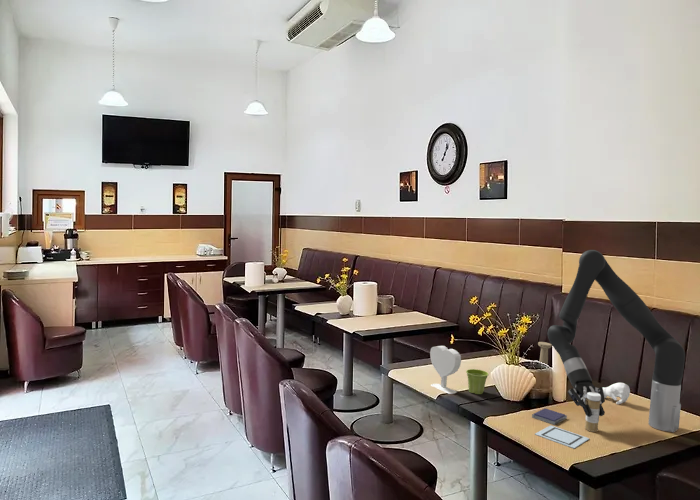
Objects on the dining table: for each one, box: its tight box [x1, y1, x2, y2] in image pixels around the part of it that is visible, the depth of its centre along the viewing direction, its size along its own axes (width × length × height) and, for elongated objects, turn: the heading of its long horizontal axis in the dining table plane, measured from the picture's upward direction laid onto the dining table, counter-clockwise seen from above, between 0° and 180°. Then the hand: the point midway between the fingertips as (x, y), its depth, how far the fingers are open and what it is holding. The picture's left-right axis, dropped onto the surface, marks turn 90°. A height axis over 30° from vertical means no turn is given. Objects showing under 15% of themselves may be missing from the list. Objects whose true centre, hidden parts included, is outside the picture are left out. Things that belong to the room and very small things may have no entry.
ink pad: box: [531, 407, 568, 426], centre depth 202 cm, size 9×10×2 cm
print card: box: [534, 424, 590, 450], centre depth 185 cm, size 14×12×1 cm
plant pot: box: [465, 368, 489, 395], centre depth 228 cm, size 9×9×9 cm
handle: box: [537, 341, 553, 365], centre depth 258 cm, size 5×6×15 cm
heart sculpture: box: [429, 345, 462, 395], centre depth 230 cm, size 16×5×18 cm, turn 34°
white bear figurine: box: [602, 382, 631, 405], centre depth 224 cm, size 6×8×12 cm
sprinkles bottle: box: [584, 392, 601, 433], centre depth 192 cm, size 5×5×13 cm
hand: (596, 415), depth 191 cm, fingers closed on sprinkles bottle, 4 cm apart
